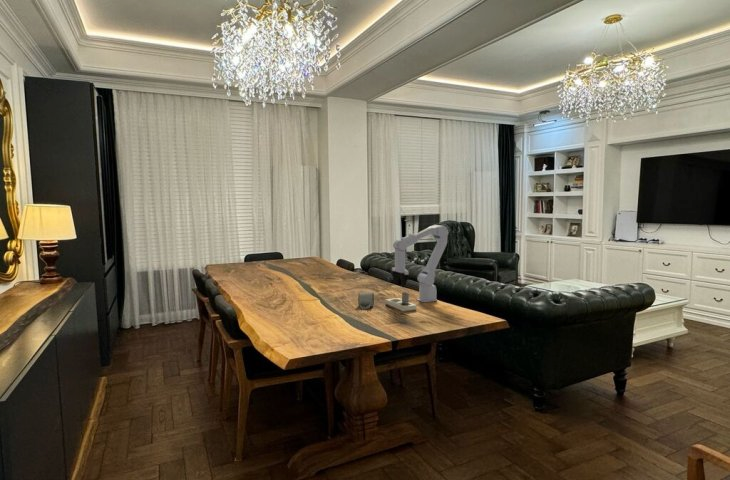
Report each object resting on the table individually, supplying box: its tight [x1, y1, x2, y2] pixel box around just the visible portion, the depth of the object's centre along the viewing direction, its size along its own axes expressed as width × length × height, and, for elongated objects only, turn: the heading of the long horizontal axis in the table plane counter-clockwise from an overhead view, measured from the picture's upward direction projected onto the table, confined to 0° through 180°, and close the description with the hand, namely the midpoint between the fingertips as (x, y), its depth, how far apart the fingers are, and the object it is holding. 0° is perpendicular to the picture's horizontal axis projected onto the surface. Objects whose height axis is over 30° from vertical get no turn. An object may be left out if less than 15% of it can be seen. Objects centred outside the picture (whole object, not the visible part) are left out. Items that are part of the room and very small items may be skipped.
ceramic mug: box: [357, 292, 375, 310], centre depth 228 cm, size 11×8×8 cm
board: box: [385, 297, 417, 314], centre depth 226 cm, size 8×18×3 cm, turn 27°
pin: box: [401, 291, 410, 306], centre depth 222 cm, size 4×4×8 cm
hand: (399, 285), depth 235 cm, fingers open, 7 cm apart
